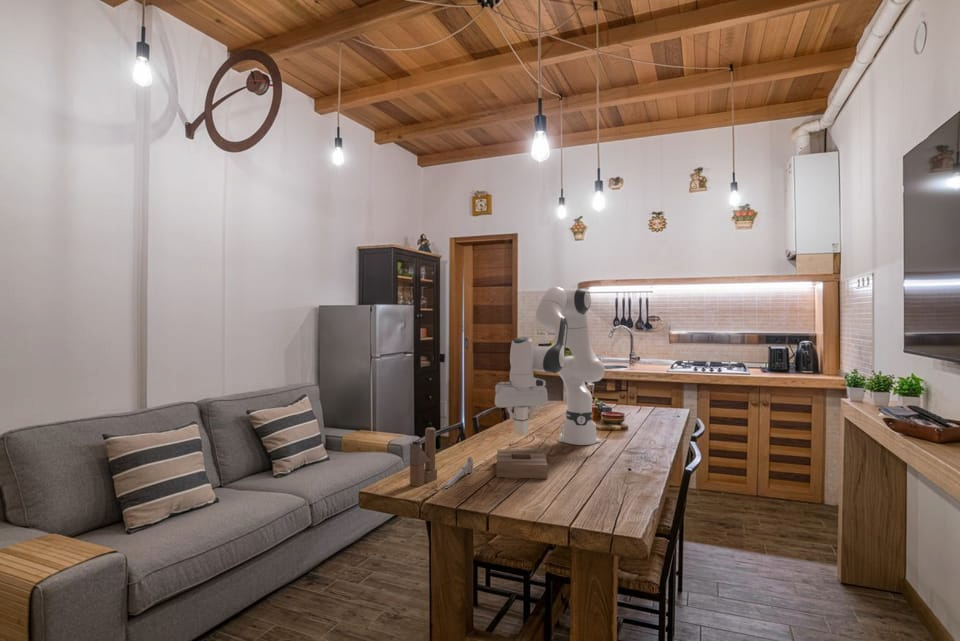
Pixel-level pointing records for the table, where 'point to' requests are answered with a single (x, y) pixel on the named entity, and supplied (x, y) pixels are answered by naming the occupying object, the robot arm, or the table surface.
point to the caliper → (462, 472)
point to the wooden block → (423, 460)
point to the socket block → (521, 464)
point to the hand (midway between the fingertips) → (521, 418)
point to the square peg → (521, 420)
